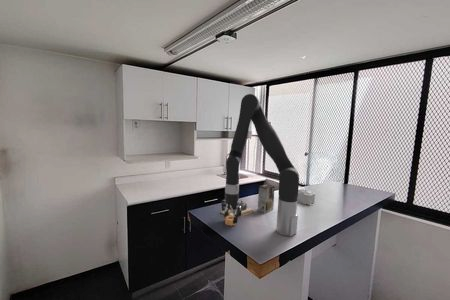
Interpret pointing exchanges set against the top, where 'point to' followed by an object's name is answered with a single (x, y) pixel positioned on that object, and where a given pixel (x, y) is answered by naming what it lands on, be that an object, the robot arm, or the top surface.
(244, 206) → the gear board
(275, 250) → the top surface
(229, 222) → the gear
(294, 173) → the robot arm
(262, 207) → the coffee box
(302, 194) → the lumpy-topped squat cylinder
